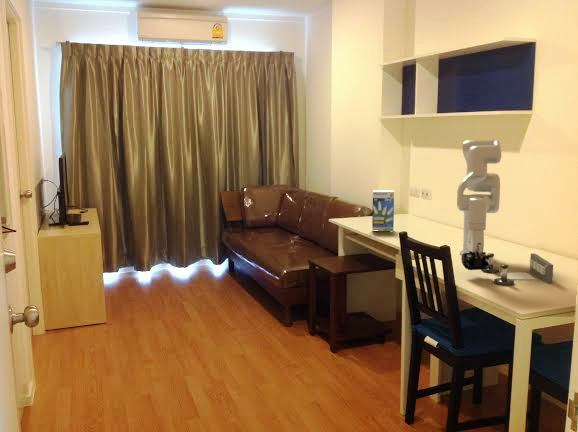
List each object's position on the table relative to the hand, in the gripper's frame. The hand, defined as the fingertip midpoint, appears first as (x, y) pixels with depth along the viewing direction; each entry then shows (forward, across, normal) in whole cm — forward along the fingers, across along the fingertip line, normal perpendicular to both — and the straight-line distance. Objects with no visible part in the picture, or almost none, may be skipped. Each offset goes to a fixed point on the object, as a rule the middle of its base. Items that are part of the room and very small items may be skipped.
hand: (475, 264), depth 244 cm
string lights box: (+7, -103, -30) cm, 107 cm away
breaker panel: (+6, 0, +29) cm, 29 cm away
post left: (+6, -9, +10) cm, 15 cm away
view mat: (+6, 0, +19) cm, 19 cm away
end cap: (+2, 0, 0) cm, 2 cm away
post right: (+6, +10, +10) cm, 15 cm away
